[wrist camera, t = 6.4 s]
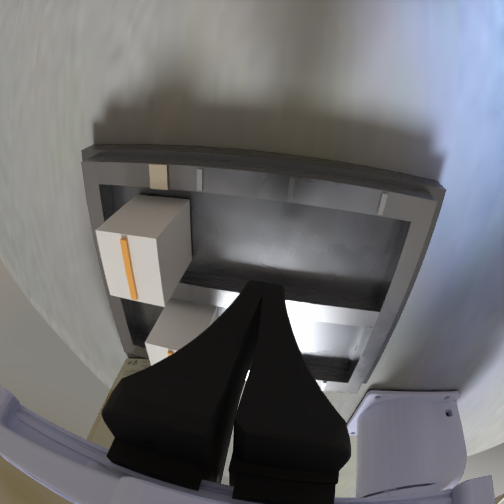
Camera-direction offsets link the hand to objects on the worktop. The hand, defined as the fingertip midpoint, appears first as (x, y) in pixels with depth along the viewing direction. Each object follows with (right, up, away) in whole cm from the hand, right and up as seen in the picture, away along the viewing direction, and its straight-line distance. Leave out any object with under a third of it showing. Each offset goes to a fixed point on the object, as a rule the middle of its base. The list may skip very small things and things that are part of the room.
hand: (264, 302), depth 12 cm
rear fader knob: (-4, -3, +8) cm, 9 cm away
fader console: (-1, +1, +7) cm, 7 cm away
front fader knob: (-5, +3, +4) cm, 7 cm away
